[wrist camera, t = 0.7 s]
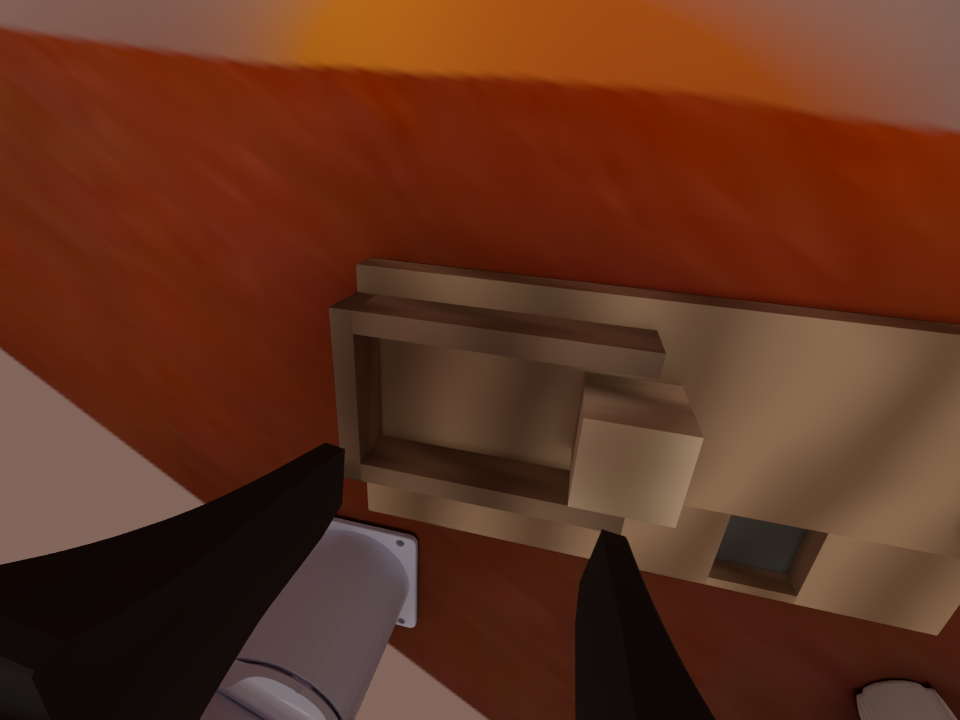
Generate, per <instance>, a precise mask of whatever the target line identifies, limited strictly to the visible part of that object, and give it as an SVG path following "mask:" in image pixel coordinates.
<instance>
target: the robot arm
mask: <svg viewBox="0 0 960 720" xmlns="http://www.w3.org/2000/svg"><path fill="white" fill-rule="evenodd" d="M344 462H345V449H344V448H341V447H338V446H334V445H331V444H328V443H324V444H322V445H320V446H318V447H316V448H315V449H313V450H311V451H309V452H307V453H305V454H304V455H302V456H300V457H298V458H296V459H294V460H293V461H291V462H289V463H287V464H285V465H284V466H282V467H280V468H278V469H276V470H274V471H272V472H270V473H269V474H267V475H265V476H263V477H261V478H259V479H257V480H255V481H253V482H251V483H249V484H247V485H245V486H243V487H241V488H239V489H237V490H235V491H233V492H231V493H228V494H226V495H224V496H222V497H220V498H218V499H216V500H214V501H211V502H209V503H207V504H204V505H202V506H200V507H197V508H195V509H192V510H190V511H187V512H185V513H182V514H179V515H177V516H175V517H172V518H169V519H166V520H164V521H161V522H158V523H155V524H152V525H149V526H146V527H143V528H140V529H137V530H134V531H131V532H128V533H125V534H122V535H118V536H115V537H112V538H109V539H105V540H102V541H98V542H94V543H91V544H87V545H84V546H80V547H76V548H72V549H68V550H64V551H60V552H56V553H52V554H48V555H44V556H39V557H34V558H30V559H25V560H21V561H16V562H11V563H7V564H2V565H0V720H355V718H356V715H357V713H358V711H359V708H360V706H361V703H362V701H363V699H364V697H365V694H366V692H367V690H368V687H369V685H370V682H371V680H372V678H373V675H374V673H375V671H376V668H377V666H378V664H379V661H380V659H381V657H382V654H383V652H384V650H385V647H386V645H387V643H388V640H389V638H390V636H391V633H392V631H393V629H394V626H395V624H397V625H401V626H405V627H409V628H412V627H414V626H415V625H416V622H417V566H418V542H417V539H416V538H415V537H414V536H413V535H410V534H405V533H401V532H397V531H392V530H388V529H383V528H379V527H375V526H370V525H366V524H361V523H357V522H353V521H348V520H344V519H339V518H335V515H336V513H337V511H338V510H339V508H340V506H341V504H342V496H343V479H344ZM400 540H401V541H400ZM402 541H403V542H402ZM575 709H576V720H716V719H715V718H714V716H713V715H712V713H711V711H710V710H709V708H708V706H707V705H706V703H705V701H704V700H703V698H702V696H701V695H700V693H699V691H698V690H697V688H696V686H695V684H694V683H693V681H692V679H691V677H690V675H689V674H688V672H687V670H686V668H685V666H684V664H683V663H682V661H681V659H680V657H679V655H678V653H677V651H676V649H675V647H674V645H673V643H672V641H671V639H670V637H669V635H668V633H667V631H666V629H665V627H664V625H663V623H662V621H661V618H660V616H659V614H658V612H657V610H656V608H655V605H654V603H653V601H652V599H651V597H650V594H649V592H648V590H647V587H646V585H645V582H644V580H643V578H642V575H641V573H640V570H639V568H638V565H637V563H636V560H635V558H634V555H633V552H632V550H631V547H630V544H629V542H628V540H627V538H626V537H625V536H622V535H619V534H616V533H613V532H609V531H606V530H603V529H602V530H601V532H600V535H599V537H598V540H597V542H596V544H595V547H594V549H593V552H592V554H591V556H590V559H589V561H588V564H587V566H586V568H585V571H584V573H583V576H582V578H581V580H580V585H579V593H578V602H577V611H576V621H575Z"/></svg>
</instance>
